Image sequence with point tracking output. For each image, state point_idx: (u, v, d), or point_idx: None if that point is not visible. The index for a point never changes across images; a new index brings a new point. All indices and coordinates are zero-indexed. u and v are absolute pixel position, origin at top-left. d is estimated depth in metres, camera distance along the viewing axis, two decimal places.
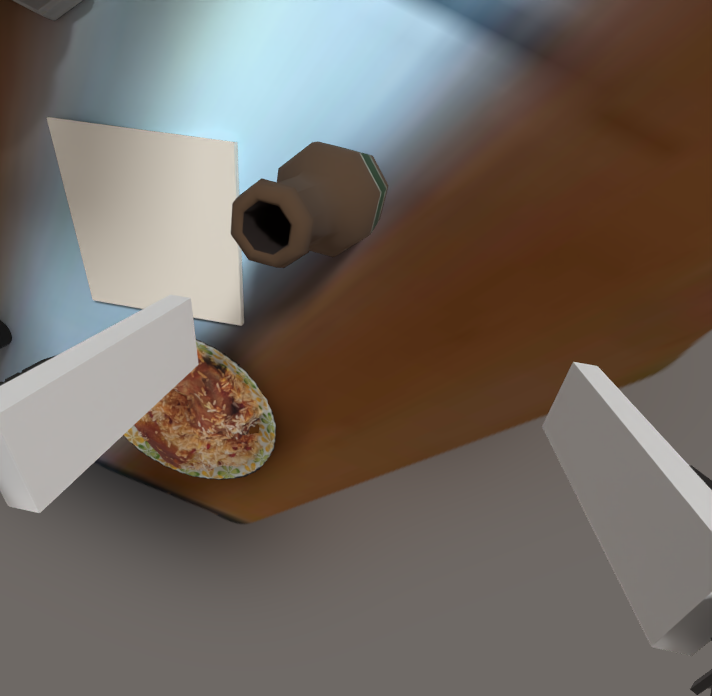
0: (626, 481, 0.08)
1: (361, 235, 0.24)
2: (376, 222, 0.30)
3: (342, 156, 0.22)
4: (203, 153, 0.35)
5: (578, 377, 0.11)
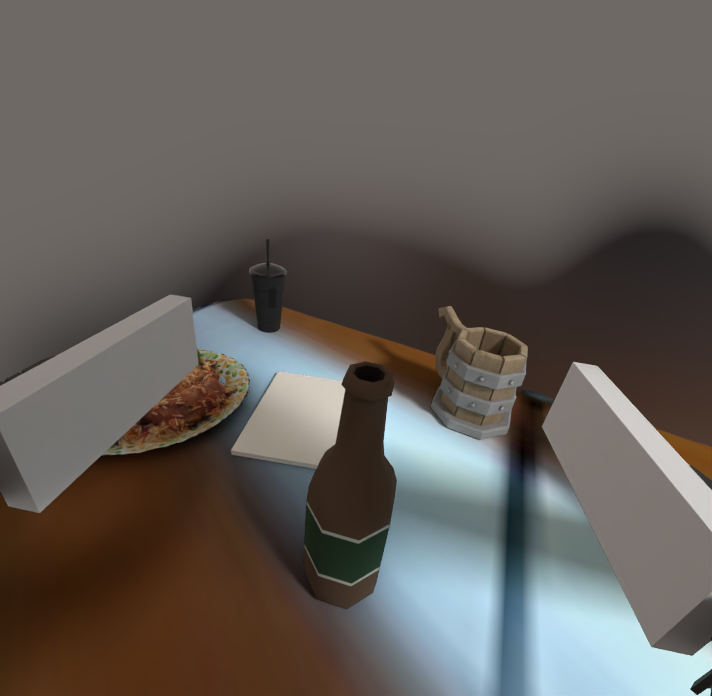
0: (626, 481, 0.08)
1: (329, 503, 0.27)
2: (322, 561, 0.29)
3: (390, 493, 0.28)
4: None
5: (578, 377, 0.11)
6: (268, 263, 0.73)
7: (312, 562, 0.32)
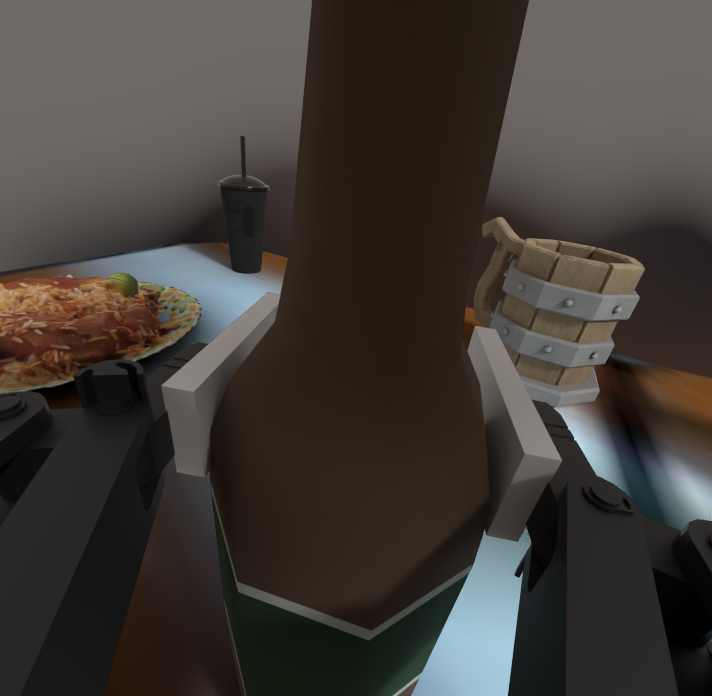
0: (488, 413, 0.10)
1: (255, 482, 0.07)
2: (253, 670, 0.09)
3: None
4: None
5: (476, 337, 0.12)
6: (244, 173, 0.54)
7: (236, 655, 0.11)
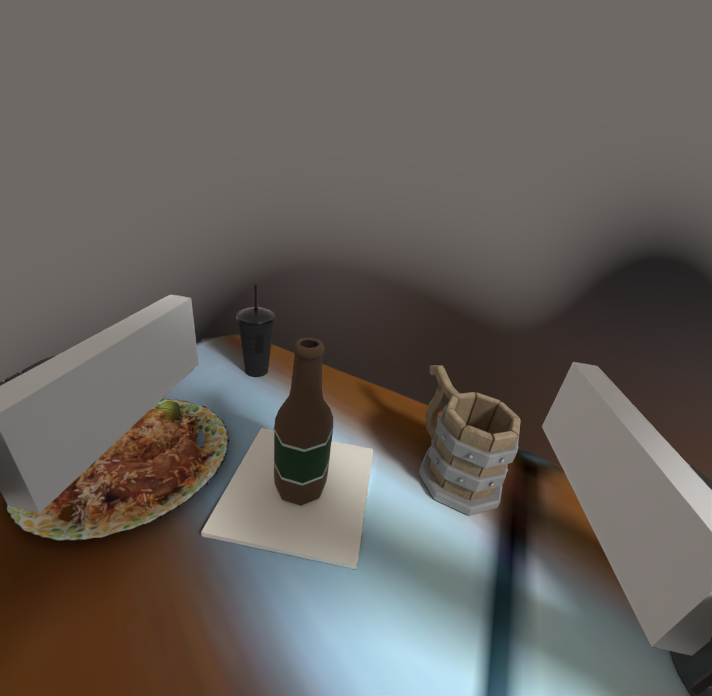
0: (626, 481, 0.08)
1: (286, 425, 0.43)
2: (283, 467, 0.46)
3: (326, 421, 0.44)
4: (350, 538, 0.46)
5: (578, 377, 0.11)
6: (256, 308, 0.71)
7: (278, 472, 0.48)
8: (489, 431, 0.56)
